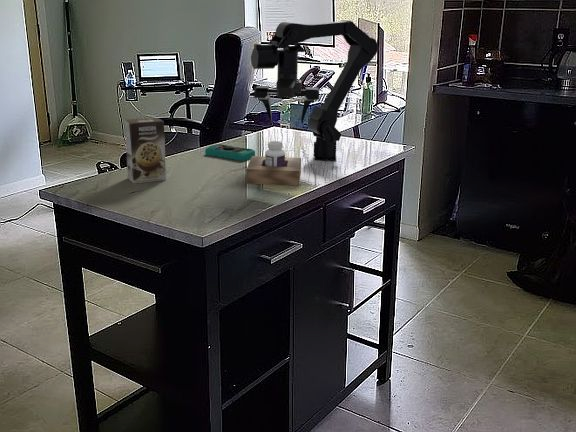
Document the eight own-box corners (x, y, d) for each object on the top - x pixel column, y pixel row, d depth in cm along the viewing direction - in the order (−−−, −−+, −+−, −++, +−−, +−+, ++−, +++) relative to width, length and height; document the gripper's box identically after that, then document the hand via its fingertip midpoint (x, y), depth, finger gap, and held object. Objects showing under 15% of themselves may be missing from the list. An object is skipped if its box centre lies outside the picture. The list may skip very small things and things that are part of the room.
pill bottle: (284, 174, 179) (284, 140, 176) (285, 179, 174) (286, 145, 171) (264, 174, 179) (264, 140, 175) (265, 180, 174) (265, 145, 170)
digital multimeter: (217, 151, 205) (217, 142, 204) (256, 157, 198) (256, 148, 197) (203, 156, 199) (203, 147, 198) (242, 163, 192) (242, 153, 191)
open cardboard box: (300, 171, 182) (301, 157, 181) (298, 185, 169) (299, 170, 168) (252, 169, 183) (252, 156, 182) (246, 183, 170) (246, 169, 169)
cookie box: (133, 184, 167) (129, 123, 162) (127, 178, 173) (123, 118, 167) (167, 180, 171) (164, 120, 166) (160, 174, 177) (157, 116, 171)
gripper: (252, 70, 176) (251, 126, 181) (319, 72, 175) (317, 128, 180) (256, 66, 186) (255, 119, 191) (320, 68, 185) (318, 121, 190)
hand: (286, 122), depth 188 cm, fingers open, 9 cm apart
